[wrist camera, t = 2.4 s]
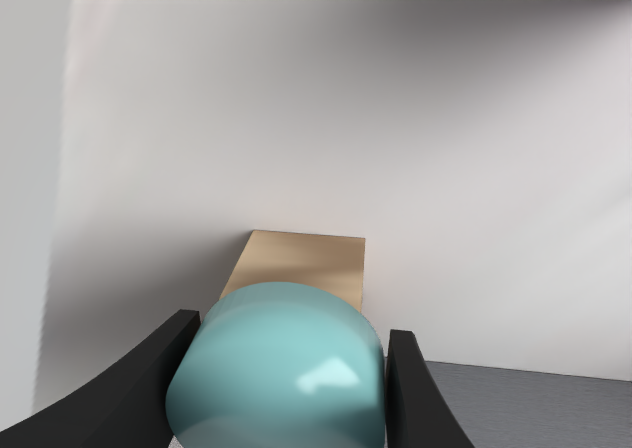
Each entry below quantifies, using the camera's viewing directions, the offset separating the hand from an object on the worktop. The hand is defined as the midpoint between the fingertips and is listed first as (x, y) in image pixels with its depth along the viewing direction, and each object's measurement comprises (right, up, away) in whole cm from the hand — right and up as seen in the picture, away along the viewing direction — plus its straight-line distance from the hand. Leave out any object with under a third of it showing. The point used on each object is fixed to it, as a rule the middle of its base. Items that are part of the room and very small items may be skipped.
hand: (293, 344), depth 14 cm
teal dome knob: (0, 0, 0) cm, 1 cm away
